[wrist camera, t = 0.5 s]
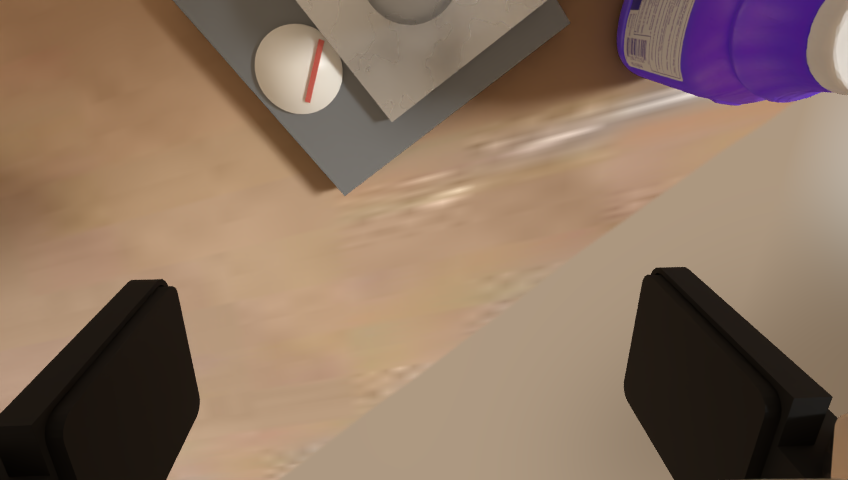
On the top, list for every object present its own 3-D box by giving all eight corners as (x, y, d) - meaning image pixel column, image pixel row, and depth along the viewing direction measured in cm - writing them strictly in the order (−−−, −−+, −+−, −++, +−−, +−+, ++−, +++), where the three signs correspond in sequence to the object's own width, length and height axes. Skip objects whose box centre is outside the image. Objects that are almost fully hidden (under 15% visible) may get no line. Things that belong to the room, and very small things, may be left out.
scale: (409, -228, 27) (410, -251, 25) (560, 21, 33) (573, 23, 30) (179, -8, 31) (161, -10, 29) (347, 185, 36) (344, 198, 34)
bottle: (682, 84, 34) (923, 153, 19) (598, 71, 34) (772, 131, 18) (723, -41, 32) (1050, -87, 16) (632, -58, 31) (875, -122, 15)
